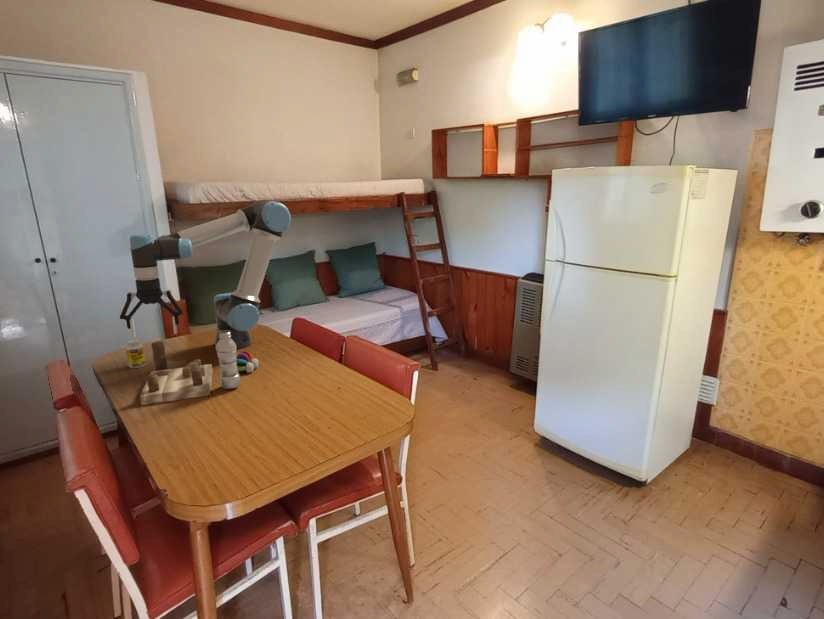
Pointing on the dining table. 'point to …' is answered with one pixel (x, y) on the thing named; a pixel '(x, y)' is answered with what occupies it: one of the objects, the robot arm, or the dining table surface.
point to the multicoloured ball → (246, 362)
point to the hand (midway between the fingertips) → (155, 335)
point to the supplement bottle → (135, 354)
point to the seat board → (176, 385)
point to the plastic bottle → (227, 361)
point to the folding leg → (191, 367)
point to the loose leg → (159, 356)
